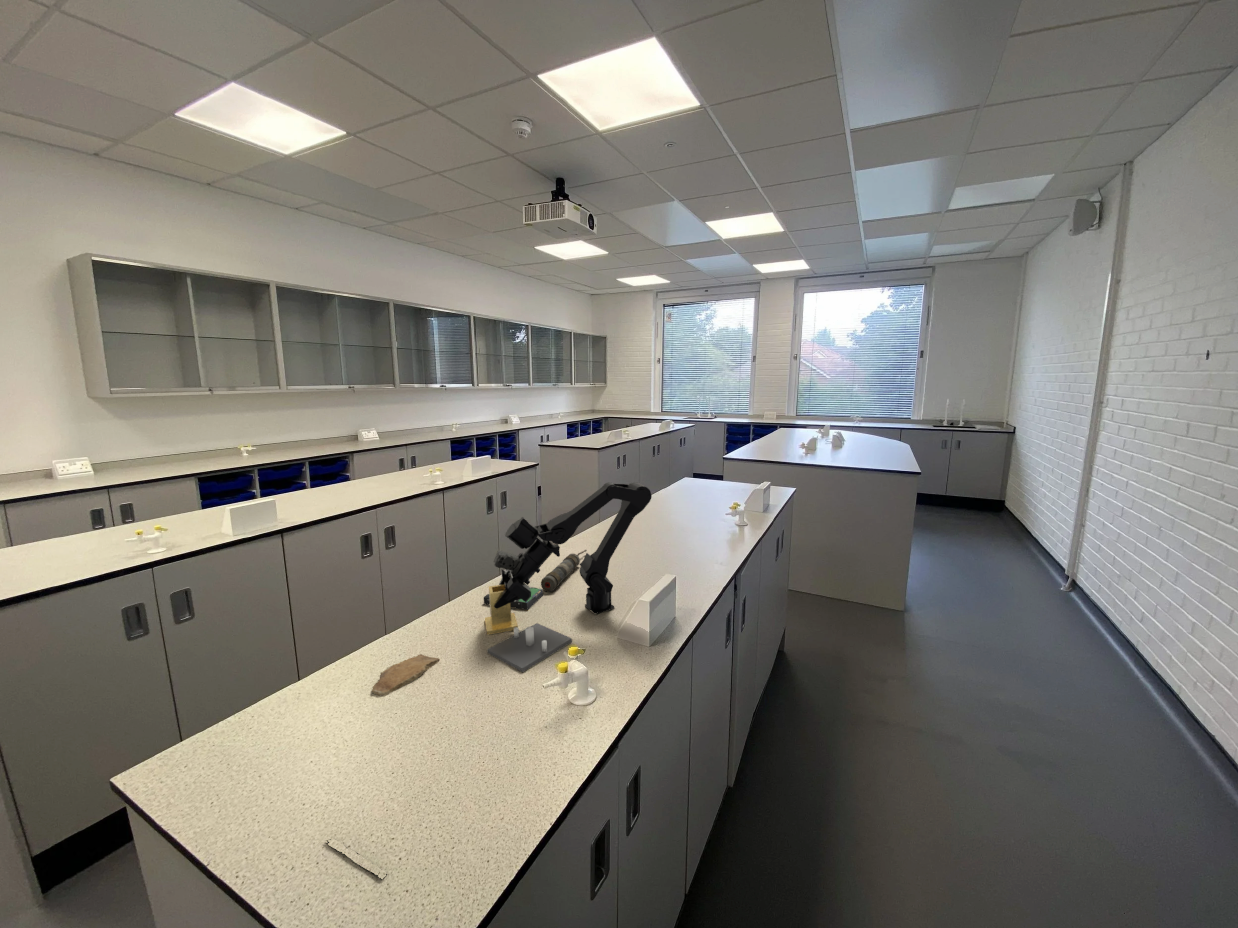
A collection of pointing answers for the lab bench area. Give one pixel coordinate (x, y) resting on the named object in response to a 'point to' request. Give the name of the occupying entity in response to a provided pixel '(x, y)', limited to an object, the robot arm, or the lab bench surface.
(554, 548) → the robot arm
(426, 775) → the lab bench surface
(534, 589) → the disk drive
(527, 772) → the lab bench surface
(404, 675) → the pottery shard
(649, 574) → the lab bench surface
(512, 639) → the base plate
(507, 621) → the brass sleeve
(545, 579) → the bomb
